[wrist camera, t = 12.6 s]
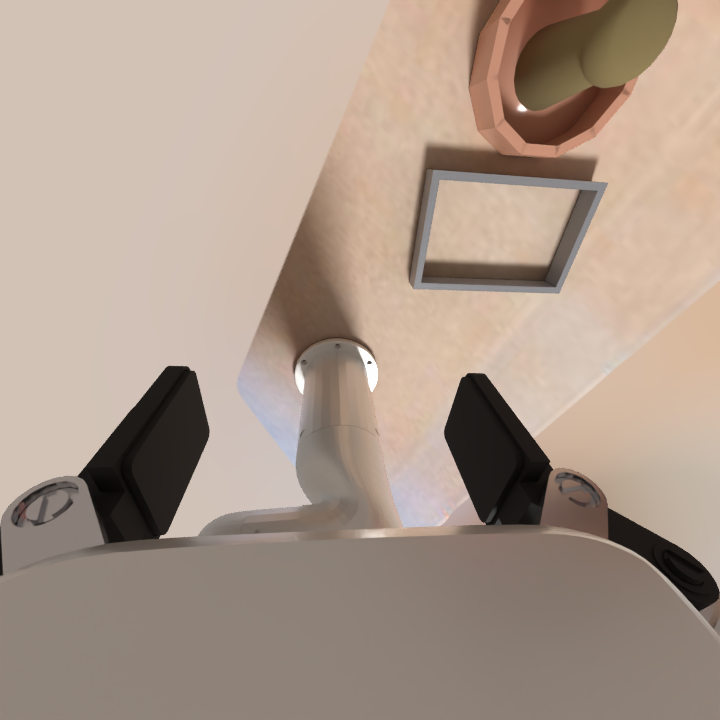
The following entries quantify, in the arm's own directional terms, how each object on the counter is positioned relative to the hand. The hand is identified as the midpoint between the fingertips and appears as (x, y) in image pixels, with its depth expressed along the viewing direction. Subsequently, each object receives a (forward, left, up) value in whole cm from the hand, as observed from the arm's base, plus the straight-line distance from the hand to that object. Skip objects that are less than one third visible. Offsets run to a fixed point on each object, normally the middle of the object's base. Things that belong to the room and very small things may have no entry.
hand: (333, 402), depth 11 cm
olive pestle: (+16, -20, -29) cm, 39 cm away
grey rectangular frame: (+1, -20, -30) cm, 36 cm away
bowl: (+16, -20, -30) cm, 39 cm away
